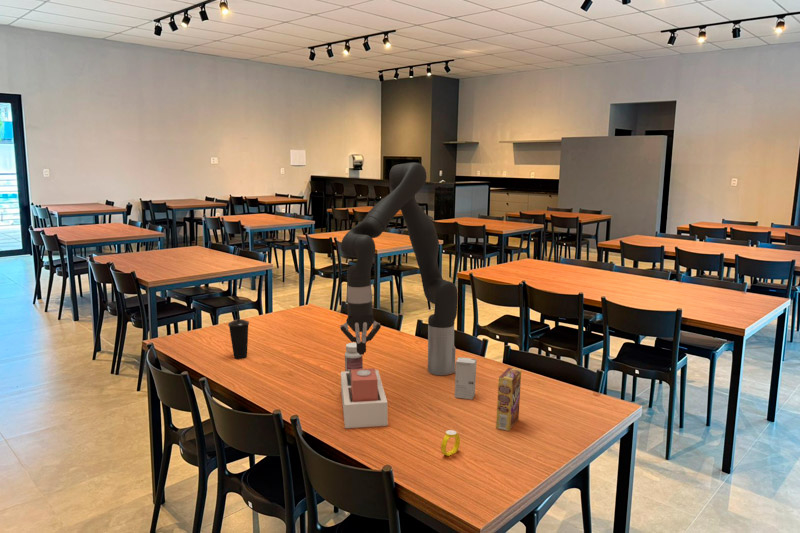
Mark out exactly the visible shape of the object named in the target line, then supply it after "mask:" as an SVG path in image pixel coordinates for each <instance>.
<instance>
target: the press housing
mask: <svg viewBox="0 0 800 533" xmlns="http://www.w3.org/2000/svg"><path fill="white" fill-rule="evenodd" d="M375 372H376V376H377V379H378V401H363V402H353V400H352V393H351V386H349V371H345V370H344V371H340V390H341V402H342V414H343V421H344V429H357V428H373V427H386V426H389V424H388V420H389V419H388V412H389V411H388V400H387V397H386V392H385V390H384V385H383V383H382V378H381V375H380V372H379V370H378V369H375Z"/></svg>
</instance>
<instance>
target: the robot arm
mask: <svg viewBox="0 0 800 533" xmlns="http://www.w3.org/2000/svg"><path fill="white" fill-rule="evenodd" d="M427 179H428V178H427V171H426V168H425V167H424V166H423V165H422V164H421V163H419V162H406V163H400V164H399V163H398V164H395V165H393V166H392V167H391V169H390V170H389V183H390V187H391V190H392V191H391V192H390V193H389V194H387V195H386V196H385V197H383V198H382V199H380V200H379V201H378V202H377V203H376V204H374V206H372V208H371V209H370V210H369V211H368V212H367V214H366V215H365V216H364V218H363V219H362V221H361V222H359V223H358V224H356V225H354V226H353V227H352V228H351V229H350V230H349V231H348V232H347V233H346V234H345V235H344V236H343V238H342V240H341V243H340V249H341V252H342V253H343V255H344V256H346V257H349V258H356V263H355V264H353V265H350V266H349V267H348V268H347V271H346V272H347V273H346V276H347V291H346V300H347V302H346V303H347V304H346V305H347V318H346V322H344V323H343V324H341V325H339V327H340V331H341V332H342V333H343V334H344V335H345V336H346V337H347V339H348V340H349V341H350V343H356V345H357V353H359V355H362V356H363V355H365V353H366V352H367V342H369V341H370V342H371V341H372V340H373V339H374V337H375V336H376V335H377V333H378V332H379V330H380V329H381V327H382V325H381V322H377V321H376V320H375V318H374V315H373V291H372V285H371V284H372V282H371V279H372V278H371V270H372V268H373V264H374V263H373V262H374V259H375V258H374V257H375V255H376V254H375V253H376V243H375V241H374V239H375V238H378V237H380V236H381V234H383V233H384V231H385V230H386V228H387V226H388V225H389V224H390V223H391V221H392V220H393V219H394V217H395V216H396V215H397V213H399V212H400V211H401V215H402V217H403V221H404V223H405V226H406V229H407V233H408V237H409V240H410V244H411V247H412V250H413V253H414V255H415V260H416V262H417V263H416V264H417V266H418V269H419V274H420V277H421V279H420V280H421V283H422V289H423V294H424V296H425V298H426V300H427V301H428V302H429V303H431V304H433V305H434V312H433V314H430V315H429V316H428V319H427V324H428V325H427V328H428V329H427V332H428V334H427V372H428V373H430V374H431V375H435V376H449V375H450V374H455V373H456V352H457V351H456V346H455V320H456V319H457V315H458V305H459V304H458V303H459V302H458V301H459V292H458V288H457V286H456V284H455V283H453V282H452V281H449V280H446V279H443V277H442V274H441V271H440V268H439V264H438V263H439V262H438V255H439V248H440V243H439V242H440V241H439V237H438V233H437V231H436V227H435V223H434V222H433V220H432V219H431V218H430V217H429V216H428V214H427V213H426V212H425V210H424V209H422V207H421V206H420V205H419V204H418V201H417V199H416V197H415V195H417V193H418V192H419V191H420V190H422V189H423V187H424V186H425V184H426V183H427ZM371 327H372V328H371ZM349 328H350V329H351V330H352V332H354V335H355V336H354V335H353V334H352V333H351V332H350V330H349ZM370 328H371V330H370ZM369 330H370V331H369ZM367 332H369V333H368V334H367ZM360 333H361V334H360Z"/></svg>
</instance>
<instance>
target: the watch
mask: <svg viewBox="0 0 800 533" xmlns="http://www.w3.org/2000/svg"><path fill="white" fill-rule="evenodd" d="M450 438H455V439H454V440H455V441H454V445H453V447H452V449H451V450H449V451H447V445H448V441H449V439H450ZM460 444H461V437H460V435H459V434H458V432H457V431H455V430H452V429H448V430H446V431H445V435H444V437H443V438H442V441H441V444H440V445H441V446H440V447H441V448H440V449H441V453H442V454H443V455H444V456H446V457H448V456H449V457H450V455H451V456H453V455H454V454H456V453H457V452H458V450H459V448H460Z"/></svg>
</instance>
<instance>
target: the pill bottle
mask: <svg viewBox="0 0 800 533" xmlns="http://www.w3.org/2000/svg"><path fill="white" fill-rule="evenodd" d="M363 362H364V361H363V355H359V353H357V345H356V342H349V343H347V344H346V345H345V353H344V372H345V371H349V370H351V369H364V367H363V366H364V363H363Z"/></svg>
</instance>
